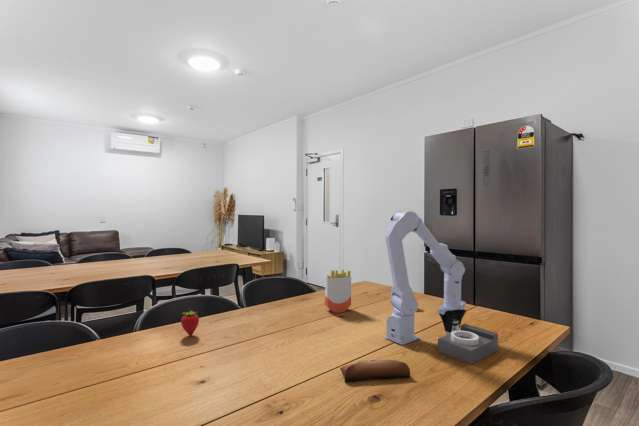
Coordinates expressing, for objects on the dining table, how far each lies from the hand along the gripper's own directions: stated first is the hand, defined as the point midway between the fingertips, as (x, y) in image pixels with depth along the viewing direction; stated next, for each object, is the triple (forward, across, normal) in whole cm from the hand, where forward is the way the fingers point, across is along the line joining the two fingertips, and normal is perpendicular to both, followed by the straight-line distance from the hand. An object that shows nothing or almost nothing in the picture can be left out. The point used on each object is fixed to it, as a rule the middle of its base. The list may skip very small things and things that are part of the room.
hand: (452, 330), depth 121 cm
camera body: (+1, -9, -11) cm, 14 cm away
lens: (+1, 0, 0) cm, 1 cm away
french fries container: (+2, -15, +46) cm, 48 cm away
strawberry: (+2, -76, +54) cm, 93 cm away
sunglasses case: (+2, -44, -3) cm, 44 cm away
